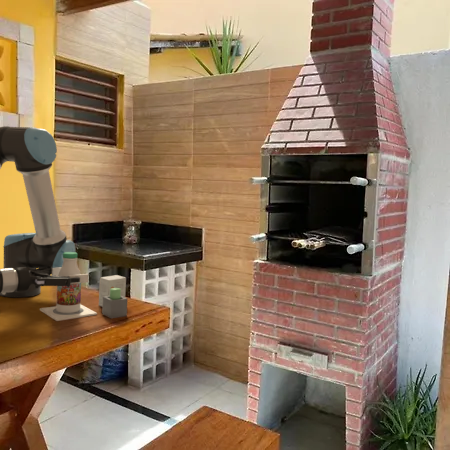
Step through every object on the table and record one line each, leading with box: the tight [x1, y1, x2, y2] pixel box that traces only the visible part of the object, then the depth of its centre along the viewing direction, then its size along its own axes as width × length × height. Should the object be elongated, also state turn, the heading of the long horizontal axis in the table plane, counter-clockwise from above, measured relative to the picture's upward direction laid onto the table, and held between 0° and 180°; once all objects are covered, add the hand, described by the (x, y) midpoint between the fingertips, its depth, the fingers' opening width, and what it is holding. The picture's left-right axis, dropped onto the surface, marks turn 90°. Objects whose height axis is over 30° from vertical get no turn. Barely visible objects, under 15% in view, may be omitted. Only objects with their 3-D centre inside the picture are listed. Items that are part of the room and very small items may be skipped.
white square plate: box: [39, 303, 98, 322], centre depth 157 cm, size 14×14×1 cm
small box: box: [98, 274, 127, 308], centre depth 169 cm, size 8×6×10 cm
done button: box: [110, 288, 121, 300], centre depth 158 cm, size 4×4×5 cm
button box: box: [101, 296, 128, 319], centre depth 158 cm, size 6×6×6 cm
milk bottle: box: [55, 251, 82, 313], centre depth 156 cm, size 8×8×20 cm
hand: (78, 274), depth 158 cm, fingers open, 13 cm apart
